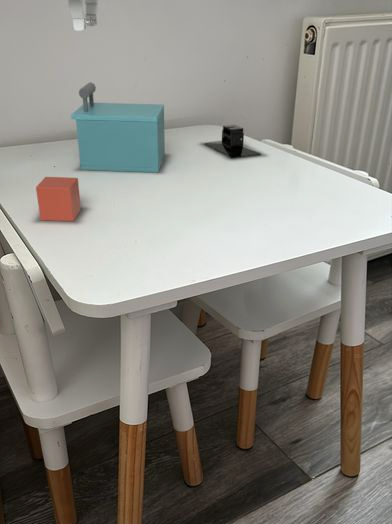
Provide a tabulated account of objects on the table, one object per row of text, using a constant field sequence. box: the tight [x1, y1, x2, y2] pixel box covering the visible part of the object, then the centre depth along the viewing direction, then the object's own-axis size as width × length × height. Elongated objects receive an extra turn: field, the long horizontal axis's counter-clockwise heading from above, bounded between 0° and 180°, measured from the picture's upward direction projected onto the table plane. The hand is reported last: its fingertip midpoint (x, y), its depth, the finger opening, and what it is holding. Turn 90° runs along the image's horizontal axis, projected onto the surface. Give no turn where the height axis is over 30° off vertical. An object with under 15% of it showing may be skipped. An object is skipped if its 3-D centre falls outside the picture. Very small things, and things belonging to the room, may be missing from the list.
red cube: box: [35, 176, 82, 222], centre depth 84 cm, size 5×5×5 cm
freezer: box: [75, 109, 166, 173], centre depth 106 cm, size 15×12×9 cm
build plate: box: [204, 124, 262, 160], centre depth 117 cm, size 12×7×5 cm, turn 26°
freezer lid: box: [70, 82, 165, 122], centre depth 103 cm, size 15×12×5 cm
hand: (86, 28), depth 97 cm, fingers open, 8 cm apart
